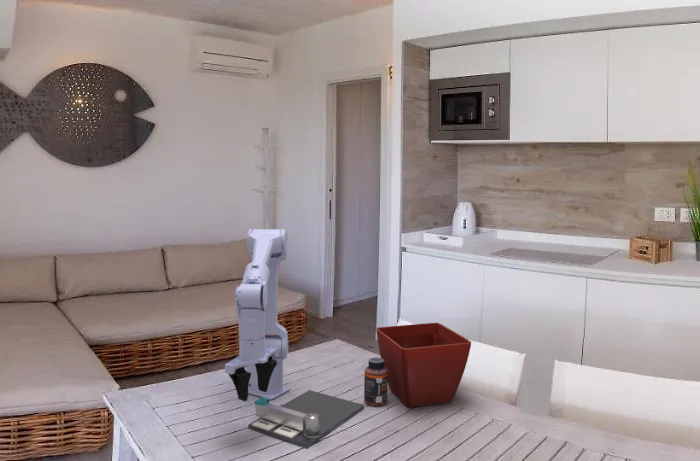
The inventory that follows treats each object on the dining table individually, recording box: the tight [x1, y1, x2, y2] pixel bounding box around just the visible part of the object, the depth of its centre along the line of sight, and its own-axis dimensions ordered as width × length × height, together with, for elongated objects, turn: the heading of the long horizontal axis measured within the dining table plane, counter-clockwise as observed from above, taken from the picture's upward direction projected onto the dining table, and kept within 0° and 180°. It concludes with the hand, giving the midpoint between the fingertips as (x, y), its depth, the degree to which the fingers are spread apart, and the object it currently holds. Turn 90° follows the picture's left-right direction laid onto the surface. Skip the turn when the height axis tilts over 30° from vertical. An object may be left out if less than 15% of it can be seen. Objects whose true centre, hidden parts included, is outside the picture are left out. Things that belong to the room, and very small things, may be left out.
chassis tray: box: [247, 389, 365, 449], centre depth 142 cm, size 17×24×1 cm
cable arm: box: [254, 397, 307, 431], centre depth 136 cm, size 14×3×4 cm, turn 58°
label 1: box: [252, 418, 279, 431], centre depth 137 cm, size 5×5×1 cm
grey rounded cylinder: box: [304, 413, 321, 439], centre depth 132 cm, size 4×4×4 cm
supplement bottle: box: [363, 357, 388, 407], centre depth 151 cm, size 6×6×11 cm
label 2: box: [274, 425, 302, 438], centre depth 134 cm, size 5×5×1 cm
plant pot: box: [375, 322, 472, 408], centre depth 155 cm, size 19×19×17 cm
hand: (253, 395), depth 133 cm, fingers open, 6 cm apart
